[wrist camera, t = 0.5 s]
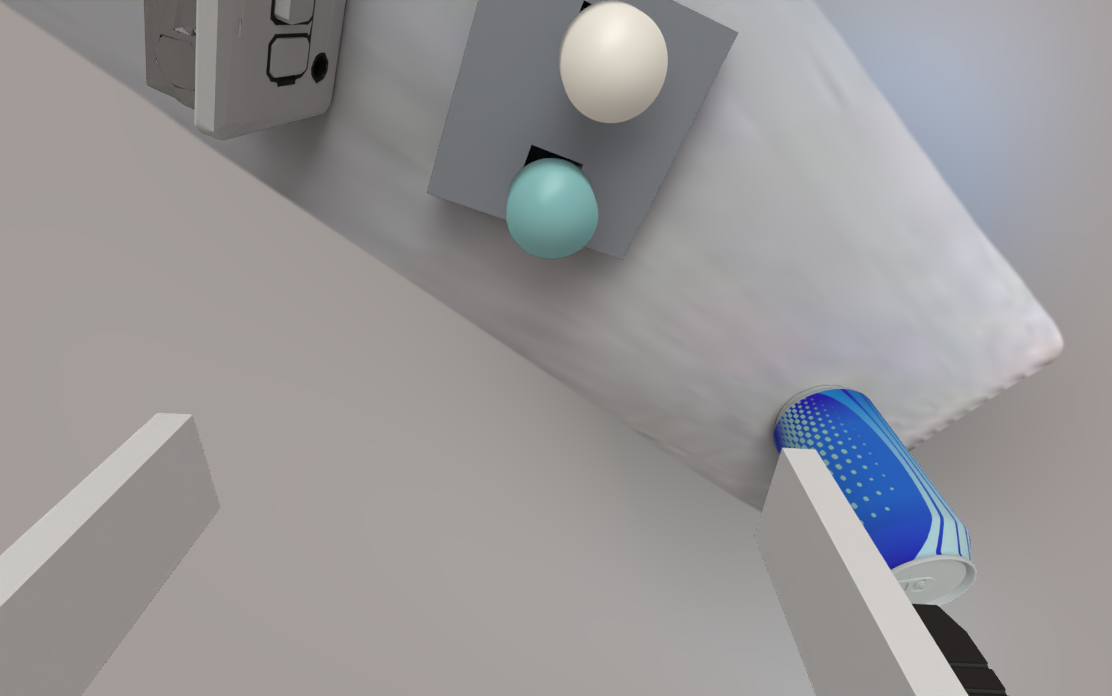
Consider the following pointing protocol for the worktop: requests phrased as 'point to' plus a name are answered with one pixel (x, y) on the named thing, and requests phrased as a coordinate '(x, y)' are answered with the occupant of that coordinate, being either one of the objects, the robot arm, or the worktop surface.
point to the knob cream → (612, 61)
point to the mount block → (568, 112)
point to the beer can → (883, 490)
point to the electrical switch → (244, 59)
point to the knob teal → (551, 208)
